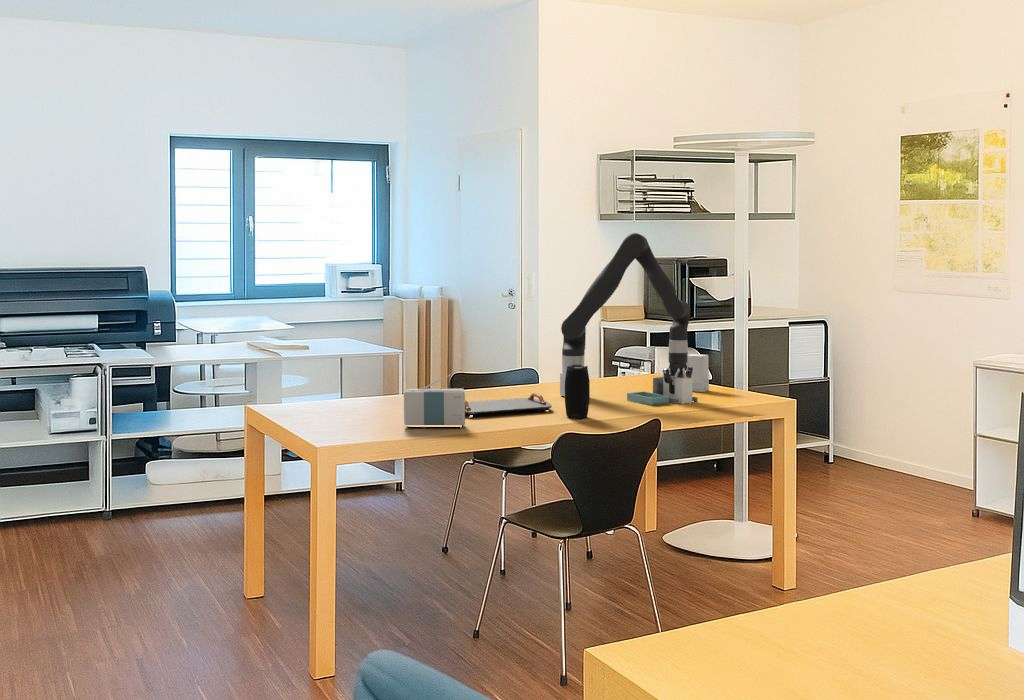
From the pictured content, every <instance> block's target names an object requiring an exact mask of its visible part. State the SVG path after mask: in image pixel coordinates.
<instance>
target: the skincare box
mask: <svg viewBox="0 0 1024 700" xmlns="http://www.w3.org/2000/svg"><path fill="white" fill-rule="evenodd" d="M686 364H687V367H693V370H692V375H691V378H693V383H692V392H693V393H694V392H697V393H705V392H708V391H709V390H710V384H709V383H710V382H709V381H710V377H709V376H710V374H709V372H710V369H709V367H710V366H709V365H710V364H709V354H695V353H690V354H688V362H687V363H686Z"/></svg>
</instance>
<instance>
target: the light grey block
mask: <svg viewBox="0 0 1024 700" xmlns="http://www.w3.org/2000/svg"><path fill="white" fill-rule="evenodd" d="M662 377H663V395H664V396H669V398H673V399H678V400H679V402H678V404H679V403H681V404H680V405H685V404H684V403H689V404H692V403H693V402H692V397H693V391H692V383H693V378H688V377H684V375H682V374H679V376H678V377H677V378H676V379H675V383H674V385H675V393H674V394H670V392H669V384H668V383H665V380H664V375H662ZM673 377H674V376H673ZM691 402H692V403H691Z"/></svg>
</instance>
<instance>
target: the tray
mask: <svg viewBox="0 0 1024 700" xmlns="http://www.w3.org/2000/svg"><path fill="white" fill-rule="evenodd" d="M626 401H627V402H633V403H638V404H641V405H646V406H651V407H654V406H662V405H670V403H669V396H664V395H660V394H655V393H653V392H650V391H636V392H627V393H626Z"/></svg>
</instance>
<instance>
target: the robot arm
mask: <svg viewBox="0 0 1024 700" xmlns="http://www.w3.org/2000/svg"><path fill="white" fill-rule="evenodd" d="M634 260H636V261H637V262H638V263H639V265H640V266H641V267H642V269H643V270H644V272H645V274H646V276H647V279H648V280H649V282H650V284H651V286H652V288H653V289H654V291H655V293H656V294H657V296H658V297H659V299H660V300H661V301H662V304H663V306H664V310H665V311H666V312H667V315H669V317H671V319H672V324H671V326H670V327H669V340H668V341H669V342H668V363H669V365H668V367H667V368H663V369H662V375H663V376H664V380H665V383H668V384H669V392H670V394H674V393H675V385H674V383H675V379H676V378H677V377H678V376H679V374H682V375H684V377H688V378H691V375H692V370H693V367H687V364H686V363H687V362H688V355H689V354H688V353H689V352H688V349H689V348H688V326H689V322H690V316H691V309H690V305H689V303H687V302H686V301H685V300H680V299H679V297H678V295H677V290H676V288H675V285H674V284H673V282H672V281H671V279H670V278H669V277H668V275H667V274H666V273H665V271H664V270H663V269H662V267H661V265H660V264H659V263H658V261H657V259H656V257H655V255H654V254H653V251H652V249H651V246H650V245H649V241H648V239H647V238H646V237H645V236H644V235H642V234H640V233H637V232H632V233H630V234H628V235H626V237H624V238H623V240H622V242H621V244H620V245H619V247H618V249H617V251H616V252H615V254H614V255H613V256H612V258H611V259H610V261H609V262H608V263H607V264H606V265H605V267H604V268H603V269H602V270H601V271H600V273H599V274H598V275H597V276H596V278H595V279H594V281H593V282H592V283H591V285H590V287H589V288H588V289H587V290H586V292H585V294H584V296H583V297H582V299H581V300H580V302H579V304H578V305H577V306H576V307H575V309H573V311H572V312H571V313H570V314H569V315H568V316H567V317H566V318H565V319H564V320H563V321H562V324H561V325H560V326H561V328H560V329H561V330H560V331H561V333H562V336H563V340H562V341H563V343H562V349H561V350H562V353H561V354H562V355H561V356H562V357H561V364H562V365H561V373H560V374H559V375H560V376H559V396H560V395H561V396H560V397H562V396H564V397H563V398H565V377H566V370H567V366H571V365H581V366H585V354H586V353H585V350H586V338H587V337H586V335H587V332H586V331H587V329H586V327H587V325H588V323H589V322H590V320H591V319H592V317H593V316H594V315H595V314H596V313H597V312H598V311H599V310H600V309H601V308H602V307H604V305H605V304H606V303H607V301H609V300H610V298H611V297H612V295H614V293H615V291H616V290H617V288H618V287H619V285H620V284H621V282H622V279H623V277H624V276H625V273H626V270H627V269H628V268H629V267H630V265H631V264H632V263H633V261H634ZM673 376H674V377H673Z"/></svg>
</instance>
